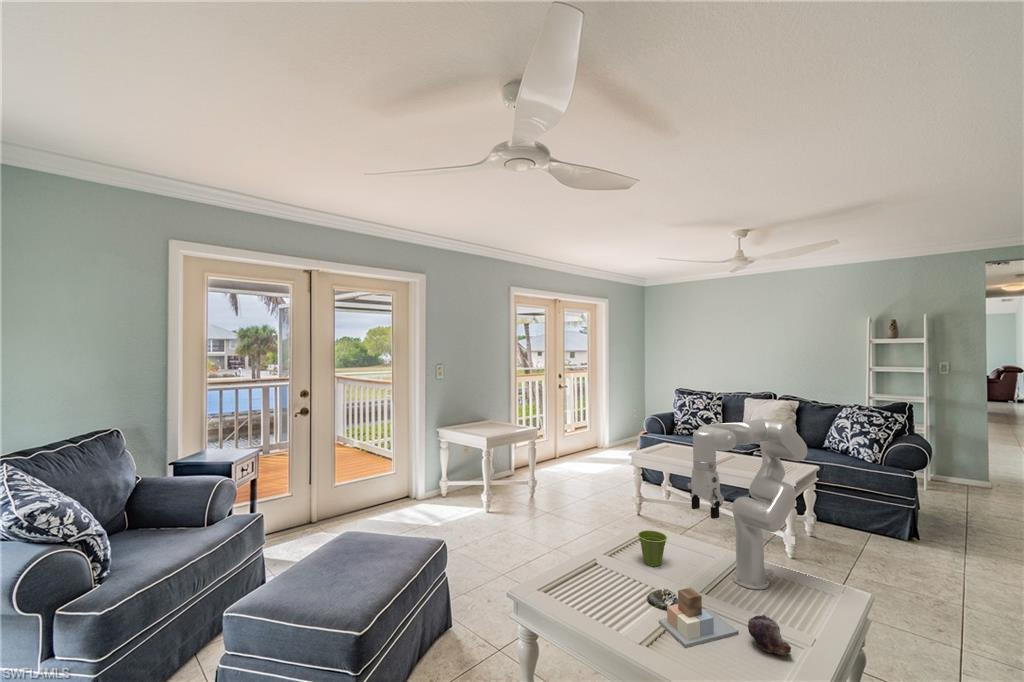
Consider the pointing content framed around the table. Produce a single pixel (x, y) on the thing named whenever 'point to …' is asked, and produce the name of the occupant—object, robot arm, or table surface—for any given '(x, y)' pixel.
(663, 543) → the plant pot
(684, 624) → the cream block
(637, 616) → the table surface
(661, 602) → the grey oval shell
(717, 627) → the assembly board
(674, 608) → the terracotta block
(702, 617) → the blue block
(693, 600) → the walnut block
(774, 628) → the rock
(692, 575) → the table surface
